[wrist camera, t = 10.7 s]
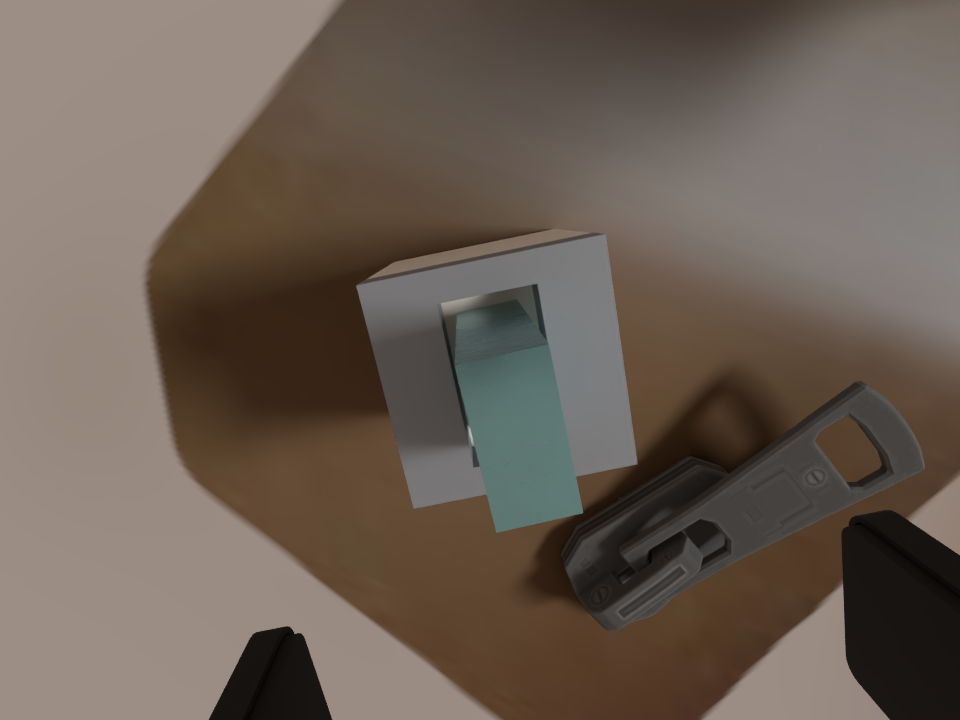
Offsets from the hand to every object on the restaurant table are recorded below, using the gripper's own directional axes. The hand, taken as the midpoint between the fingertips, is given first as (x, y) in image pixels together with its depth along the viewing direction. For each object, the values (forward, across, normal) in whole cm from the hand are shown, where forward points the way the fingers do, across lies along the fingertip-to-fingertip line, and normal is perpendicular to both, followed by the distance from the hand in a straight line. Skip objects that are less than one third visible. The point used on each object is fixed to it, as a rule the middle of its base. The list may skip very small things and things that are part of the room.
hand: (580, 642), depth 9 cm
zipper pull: (+31, -14, +17) cm, 37 cm away
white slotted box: (+30, 0, 0) cm, 30 cm away
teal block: (+19, 0, 0) cm, 19 cm away
